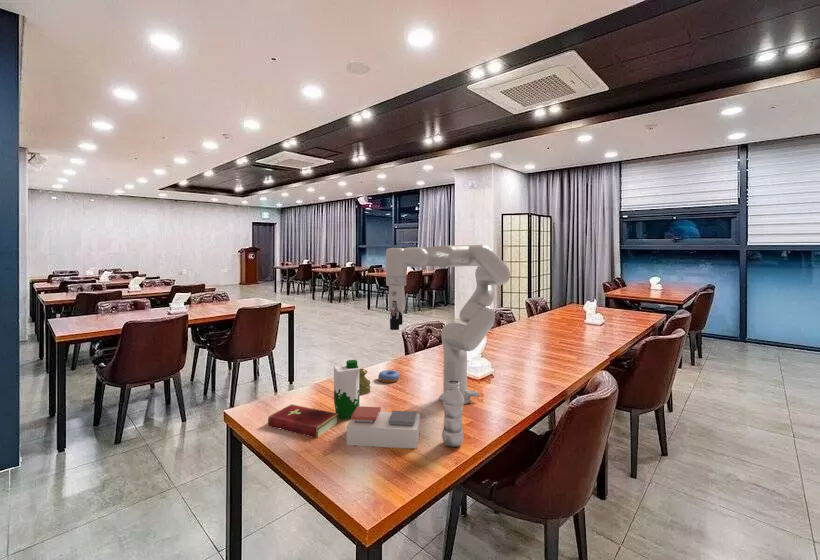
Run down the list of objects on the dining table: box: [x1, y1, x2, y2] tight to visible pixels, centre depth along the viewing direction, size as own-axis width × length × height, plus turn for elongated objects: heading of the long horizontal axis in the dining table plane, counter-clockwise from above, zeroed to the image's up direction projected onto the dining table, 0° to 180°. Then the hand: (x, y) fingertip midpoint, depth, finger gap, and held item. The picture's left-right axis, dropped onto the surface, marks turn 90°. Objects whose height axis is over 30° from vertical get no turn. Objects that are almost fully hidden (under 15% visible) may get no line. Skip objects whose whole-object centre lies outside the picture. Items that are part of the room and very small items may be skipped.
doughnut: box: [377, 369, 400, 384], centre depth 182 cm, size 10×10×5 cm
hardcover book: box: [267, 404, 339, 439], centre depth 135 cm, size 12×21×4 cm, turn 66°
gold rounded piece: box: [359, 368, 371, 395], centre depth 166 cm, size 7×7×10 cm
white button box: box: [346, 411, 421, 450], centre depth 125 cm, size 22×12×6 cm, turn 84°
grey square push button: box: [389, 410, 418, 425], centre depth 124 cm, size 8×8×6 cm
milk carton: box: [333, 359, 361, 421], centre depth 142 cm, size 9×9×20 cm
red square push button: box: [350, 405, 382, 423], centre depth 126 cm, size 8×8×6 cm
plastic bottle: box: [441, 380, 465, 448], centre depth 120 cm, size 6×7×20 cm
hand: (396, 327), depth 144 cm, fingers open, 9 cm apart
